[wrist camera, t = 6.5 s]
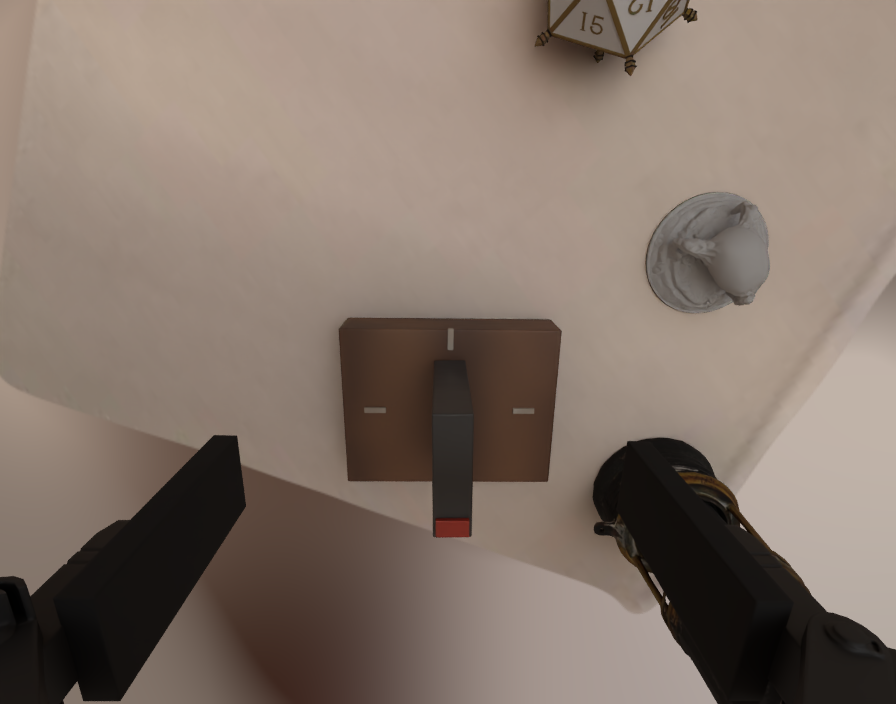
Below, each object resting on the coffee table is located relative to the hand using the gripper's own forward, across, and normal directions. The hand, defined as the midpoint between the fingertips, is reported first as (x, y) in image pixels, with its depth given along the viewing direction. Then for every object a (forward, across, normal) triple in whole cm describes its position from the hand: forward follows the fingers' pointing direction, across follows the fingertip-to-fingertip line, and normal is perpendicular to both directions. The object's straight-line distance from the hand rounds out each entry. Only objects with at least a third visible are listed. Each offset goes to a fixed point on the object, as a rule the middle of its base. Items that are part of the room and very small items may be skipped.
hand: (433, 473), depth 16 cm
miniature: (+17, +18, +6) cm, 26 cm away
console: (+17, +1, -4) cm, 18 cm away
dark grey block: (+14, +1, -4) cm, 15 cm away
